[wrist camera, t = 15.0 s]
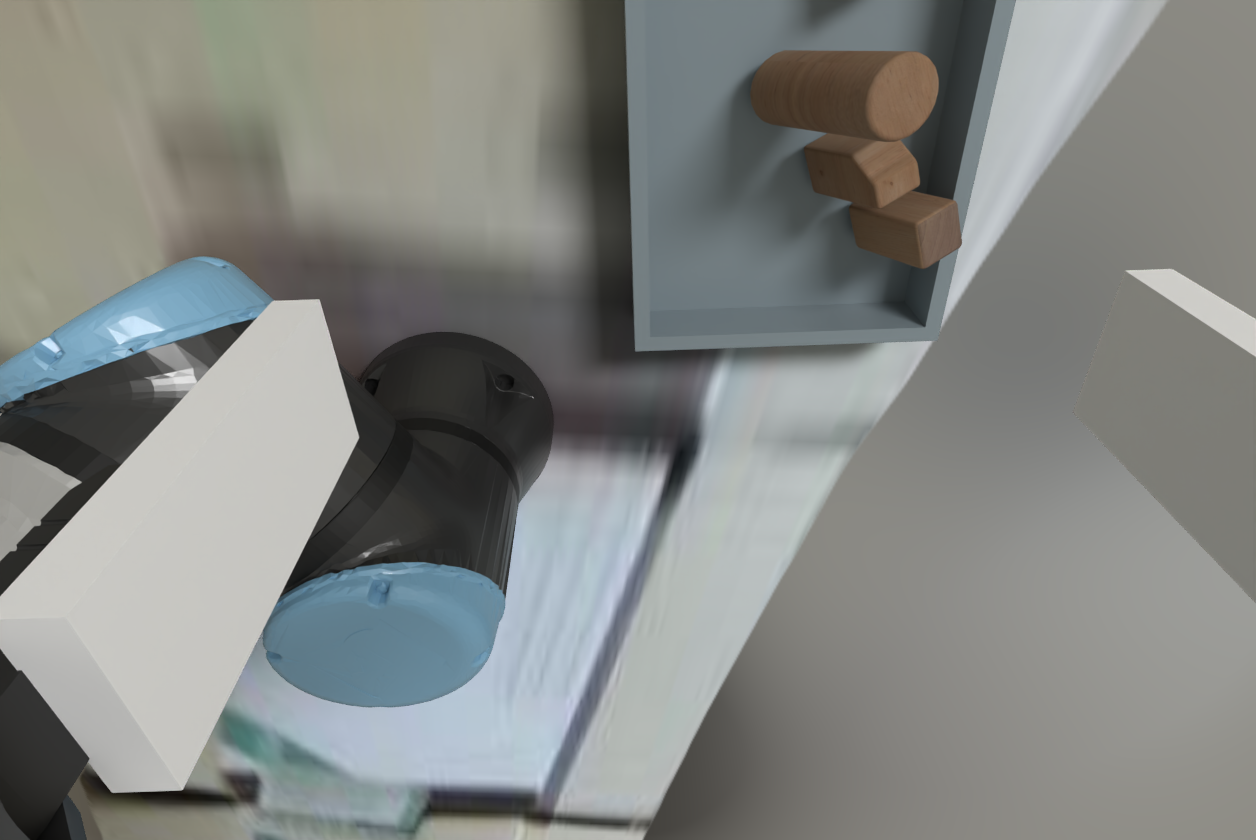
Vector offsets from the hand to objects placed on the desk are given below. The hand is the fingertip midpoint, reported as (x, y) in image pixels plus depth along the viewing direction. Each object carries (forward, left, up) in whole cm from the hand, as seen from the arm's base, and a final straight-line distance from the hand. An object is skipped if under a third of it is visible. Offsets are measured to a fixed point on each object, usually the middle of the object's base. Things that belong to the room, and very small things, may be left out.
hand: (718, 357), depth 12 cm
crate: (+9, -3, -37) cm, 38 cm away
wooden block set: (+12, -3, -36) cm, 38 cm away
